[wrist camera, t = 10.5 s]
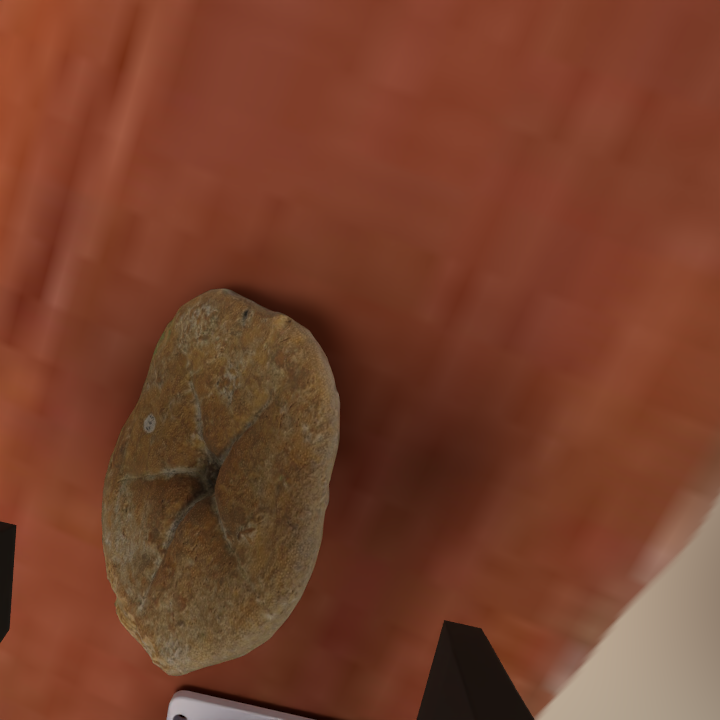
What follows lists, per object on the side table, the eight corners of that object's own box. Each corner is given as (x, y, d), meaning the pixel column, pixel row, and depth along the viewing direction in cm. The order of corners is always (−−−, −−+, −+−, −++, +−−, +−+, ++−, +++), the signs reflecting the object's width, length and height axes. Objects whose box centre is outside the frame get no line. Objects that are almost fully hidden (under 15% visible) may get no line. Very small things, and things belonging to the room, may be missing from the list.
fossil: (362, 336, 14) (217, 763, 14) (465, 369, 17) (345, 717, 18) (155, 264, 20) (57, 569, 20) (261, 299, 23) (175, 561, 24)
